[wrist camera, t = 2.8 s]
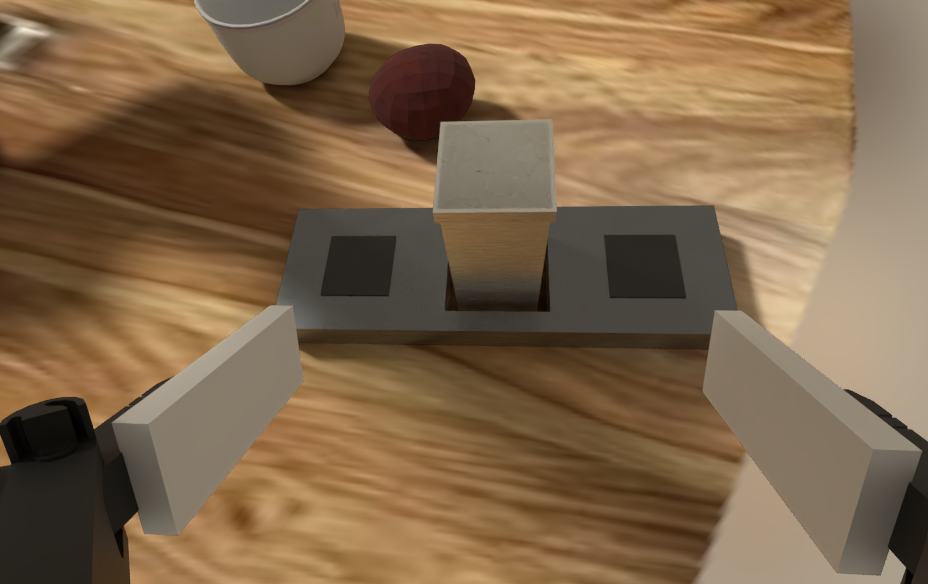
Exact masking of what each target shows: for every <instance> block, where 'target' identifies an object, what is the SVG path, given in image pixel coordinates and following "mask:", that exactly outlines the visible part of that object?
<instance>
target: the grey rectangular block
mask: <svg viewBox="0 0 928 584" xmlns="http://www.w3.org/2000/svg"><path fill="white" fill-rule="evenodd" d="M556 214H557V203H556V183H555V163H554V143H553V123H552V119H540V120H500V121H459V122H441V124H440V135H439V146H438V158H437V169H436V180H435V192H434V203H433V217H434V221H435V223H440V224H441V229H442V233H443V238H444V243H445V248H446V252H447V257H448V262H449V267H450V272H451V276H452V281H453V286H454V291H455V296H456V300H457V305H458V310H459V311H507V312H537V307H538V300H539V293H540V286H541V280H542V273H543V266H544V259H545V253H546V246H547V239H548V232H549V225H550V222H555V221H556Z"/></svg>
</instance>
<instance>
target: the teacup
mask: <svg viewBox="0 0 928 584" xmlns="http://www.w3.org/2000/svg"><path fill="white" fill-rule="evenodd" d="M194 2H195V6H196V8H197V10H198V12H199V13H200V14H201V16H202V17H203V18H204V19H205V20H206V21H207V22H208V24H209V26H210V27H211V29H212V30H213V32H214V33H215V35H216V36H217V38H218V39H219V41H220V42H221V44H222V45H223V47H224V48H225V49H226V51H227V52H228V54H229V55H230V56H231V58H232V59H233V60H234V62H235V63H236V64H237V65H238V66H239V67H240V68H241V69H242V70H243V71H244V72H245V73H246V74H248V75H249V76H251V77H253V78H254V79H256V80H259V81H261V82H264V83H268V84H274V85H298V84H303V83H306V82H309V81H311V80H313V79H315V78H317V77H318V76H320V75H321V74H322V73H324V72H325V71H326V70H327V69H328V68H329V66H330V65H331V64H332V63H333V62H334V60H335V59H336V58H337V56H338V55H339V53H340V51H341V48H342V46H343V42H344V38H345V24H344V18H343V14H342V10H341V6H340V3H339V0H194Z"/></svg>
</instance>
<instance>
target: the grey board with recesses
mask: <svg viewBox="0 0 928 584" xmlns="http://www.w3.org/2000/svg"><path fill="white" fill-rule="evenodd" d="M545 282H546V311H547V312H507V311H450V300H451V284H452V276H451V272H450V267H449V262H448V257H447V252H446V248H445V243H444V238H443V233H442V229H441V224H440V223H435V221H434V217H433V208H380V209H299V210H298V215H297V219H296V223H295V227H294V231H293V235H292V240H291V244H290V248H289V252H288V256H287V261H286V265H285V269H284V273H283V277H282V282H281V286H280V290H279V294H278V298H277V303H276V306H293V310H294V317H295V324H296V331H297V338H298V343H352V344H415V345H478V346H541V347H603V348H666V349H709V345H710V338H711V332H712V325H713V319H714V313H715V310H725V311H738V310H737V305H736V301H735V297H734V292H733V288H732V283H731V279H730V275H729V270H728V266H727V261H726V257H725V252H724V248H723V244H722V239H721V235H720V230H719V226H718V222H717V217H716V213H715V208H714V205H711V206H601V207H557V214H556V221H555V222H550V225H549V232H548V239H547V246H546V253H545Z"/></svg>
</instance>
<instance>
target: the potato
mask: <svg viewBox="0 0 928 584" xmlns="http://www.w3.org/2000/svg"><path fill="white" fill-rule="evenodd" d="M474 90H475V78H474V75H473V72H472V70H471V67H470V65H469V63H468V61H467V59H466V58H465V57H464V56H463V55H461V54H460V53H459V52H457V51H455V50H453V49H451V48H450V47H447V46H445V45H442V44H425V45H418V46H414V47H411V48H408V49H405V50H402V51H400V52H398V53H396V54H395V55H393V56H391V57H390V58H389V59H388V60H387V61H386V62H385V63H384V64H383V66H382V67H381V68H380V69H379V70H378V71H377V73H376V74H375V76H374V78H373V81H372V84H371V87H370V90H369V100H370V104H371V107H372V109H373V111H374V113H375V115H376V117H377V119H378V120H379V121H380V122H381V123H382V124H383V125H384V126H385V127H387V128H388V129H389V130H391V131H392V132H394V133H395V134H397V135H399V136H401V137H403V138H407V139H411V140H429V139H432V138H435V137H438V136H439V135H440V124H441V122H458V121H459V119H460V118H461V117H462V116H463V115H464V114H465V113H466V112H467V110H468V108H469V107H470V105H471V103H472V99H473V95H474Z"/></svg>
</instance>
